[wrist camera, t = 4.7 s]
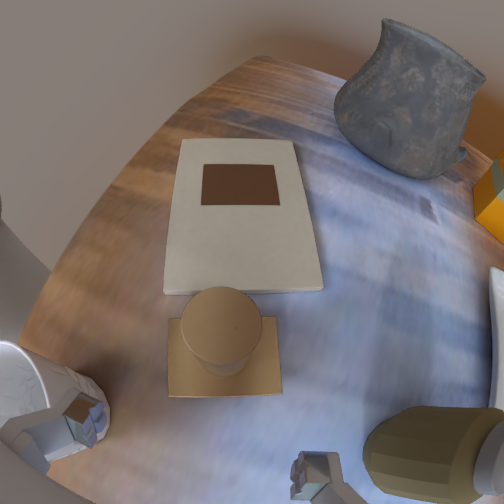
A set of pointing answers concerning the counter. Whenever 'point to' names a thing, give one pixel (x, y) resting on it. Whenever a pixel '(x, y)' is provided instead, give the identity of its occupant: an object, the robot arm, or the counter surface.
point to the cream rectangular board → (240, 220)
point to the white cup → (40, 388)
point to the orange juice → (491, 199)
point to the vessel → (409, 103)
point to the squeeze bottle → (438, 454)
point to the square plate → (497, 337)
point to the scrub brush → (223, 348)
